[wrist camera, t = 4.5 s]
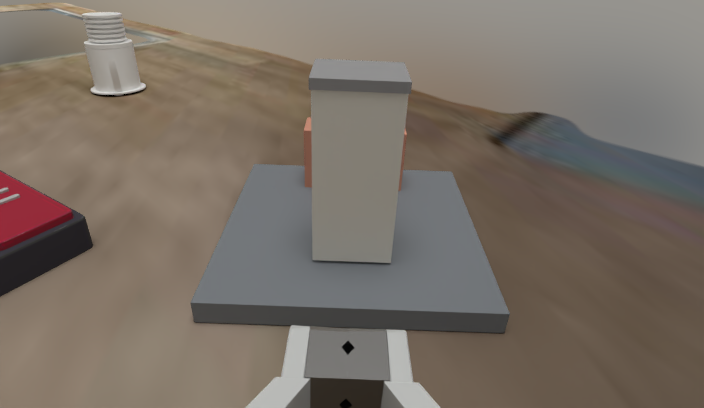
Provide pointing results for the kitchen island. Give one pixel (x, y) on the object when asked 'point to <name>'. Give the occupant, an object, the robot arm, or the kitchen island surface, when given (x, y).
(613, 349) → the kitchen island surface
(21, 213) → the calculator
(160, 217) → the kitchen island surface
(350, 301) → the base
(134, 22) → the kitchen island surface
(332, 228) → the beige rectangular block
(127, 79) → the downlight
